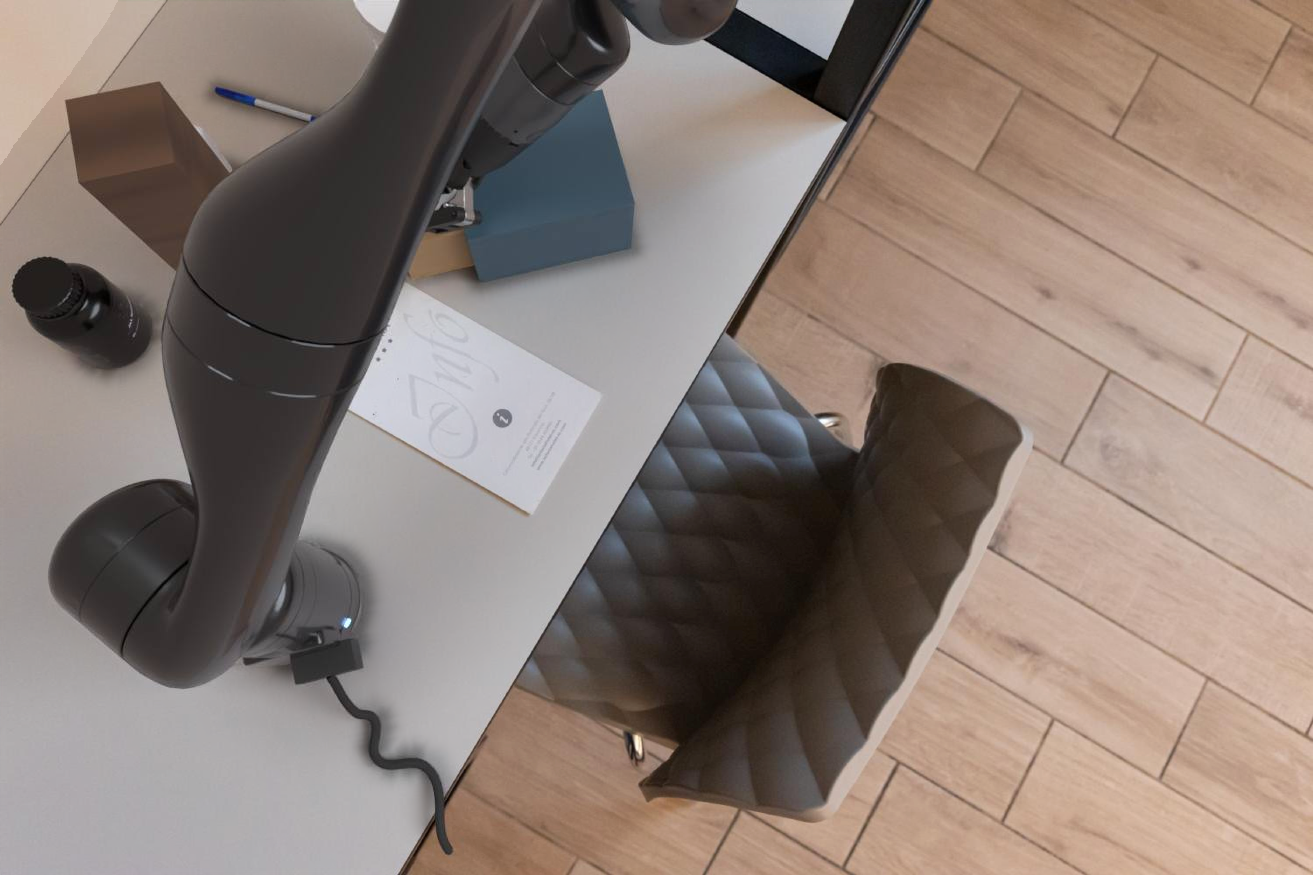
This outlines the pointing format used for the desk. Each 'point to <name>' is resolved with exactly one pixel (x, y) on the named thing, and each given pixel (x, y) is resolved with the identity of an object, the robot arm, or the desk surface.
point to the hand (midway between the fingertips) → (382, 203)
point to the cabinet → (555, 199)
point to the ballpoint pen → (263, 104)
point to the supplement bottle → (82, 312)
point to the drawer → (441, 254)
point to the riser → (143, 162)
